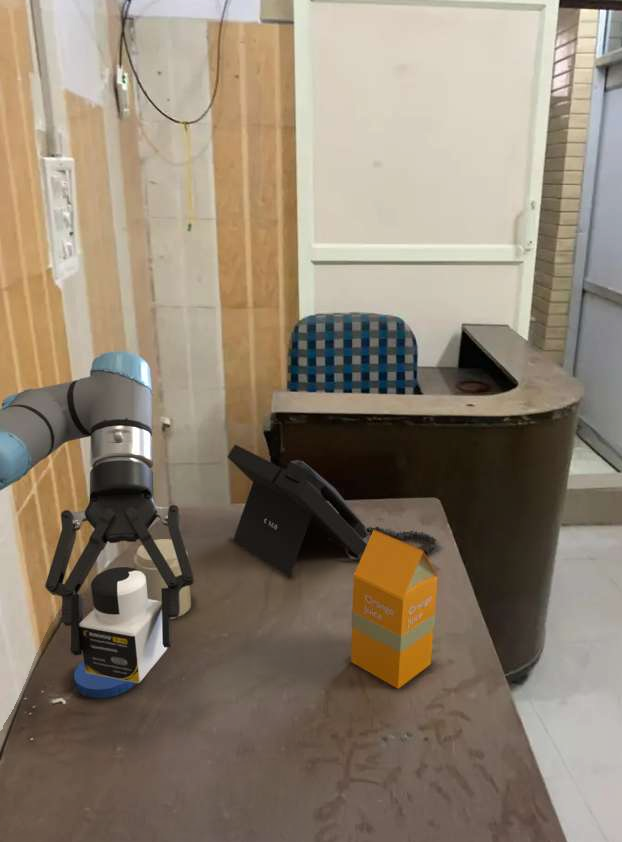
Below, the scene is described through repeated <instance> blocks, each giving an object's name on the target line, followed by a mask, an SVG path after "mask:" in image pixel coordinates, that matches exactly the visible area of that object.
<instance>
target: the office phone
mask: <svg viewBox="0 0 622 842" xmlns="http://www.w3.org/2000/svg"><path fill="white" fill-rule="evenodd" d="M227 459H228V460H229V461H231V463H232V464H233V465H235V466H236V467H237V469H239V471H241V472H242V473H243V475H245V476H246V477H247V478H248V479H249V480H250V481H251V482H252V483H251V487H250V489H249V493H248V496H247V498H246V502H245V505H244V507H243V510H242V513H241V515H240V519H239V521H238V525H237V528H236V530H235V534H234V535H233V538H232V540H233V541H234V542H236V543H237V544H239V545H240V546H241V547H243V548H244V549H246V550H248V551H249V552H251V553H252V554H254V555H255V556H257V557H258V558H260V559H261V560H263V561H264V562H266V563H267V564H269V565H271V566H272V567H274V568H275V569H276V570H278V571H279V572H281V573H282V574H284V576H287V577H288V578H290V577H291V574H292V572H293V569H294V567H295V563H296V561H297V558H298V555H299V552H300V549H301V547H302V544H303V541H304V538H305V535H306V532H307V530H308V528H309V529H311V530H313V531H314V532H315V533H317V534H320V535H321V536H323V537H325V538H326V539H328V540H330V541H332V542H333V543H334V544H337V545H338V546H339V547H341V548H343V549H344V550H345V554H346V555H347V557H348V558H349V560H354V561H360V560H361V557H362V555H363V553H364V551H365V548H366V546H367V544H368V542H366V541H365V538H367V537H371V535H372V532H373V529H374V530H377V531H379V532H381V533H384V534H386V535H388V536H391V537H393V538H395V539H398V540H402V541H403V540H405V541H406V539H407V540H409V539H410V540H411V539H413V540H415V541H416V540H417V539H419V540H420V541H422V540H423V542H426V545H423V546H422V545H419V546H417V548H419V549H421V550H423V551H424V553H425V554H426V553H427V554H429V553H431V552H433V551H434V550H436V547H437V539H436V538H435V536H432V535H430V534H429V533H424V532H423V531H418V530H416V531H414V530H410V531H399V532H396V530H392V529H391V530H389V529H388V528H384V527H380V526H375V527H372V526H369V527H367V526H366V525H365V523H364V522H363V521H362V520H361V518H359V516H358V515H357V513H356V512H355V511H354V510H353V509H352V508H351V506H350V505H349V504H348V503H347V501H346V500H345V499H344V498H343V496H342V495H341V494H340V493H339V491H338V490H337V489H336V488H335V487H334V486H333V485H332V484H330V483H329V482H328V481H327V480H326V479H324V477H322V476H321V475H320V474H319V473H318V472H317V471H315V470H314V469H313V468H312V467H310V465H308V464H307V463H306V462H304V461H302V460H300V459H294V460H291V461H289V462H288V464H287V467H286V468H282V467H281V466H279V465H277V464H275V463H273V462H271V461H269V460H267V459H265V458H263V457H261V456H260V455H258V454H256V453H253V452H251V451H249V450H247V449H245V448H244V447H241V446H239V445H237V444H234V445H233V447H232V448H231V450H230V452H229V453H228V455H227ZM349 552H350V553H352V554H353V555H355V556H357V557H355V556H353V555H351V554H349Z"/></svg>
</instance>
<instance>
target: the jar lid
mask: <svg viewBox="0 0 622 842" xmlns="http://www.w3.org/2000/svg"><path fill="white" fill-rule="evenodd" d="M136 684H137V683H134V682H129V681H124V680H119V679H114V678H109V677H104V676H99V675H94V674H89V673H86V672H85V666H84V660H82V661H81V662H80V663H79V664H78V665H77V666H76V668H75V670H74V673H73V685H74V687H75V688H76V689H75V690H76V691H77V692H78V693H79V694H80V695H83V696H84V697H86V698H87V697H88V698H90V699H108V698H113V697H117V696H119V695H121V694H123V693H126V692H127V691H129V690H130V689H132V688H133V687H134V686H135V685H136Z"/></svg>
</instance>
